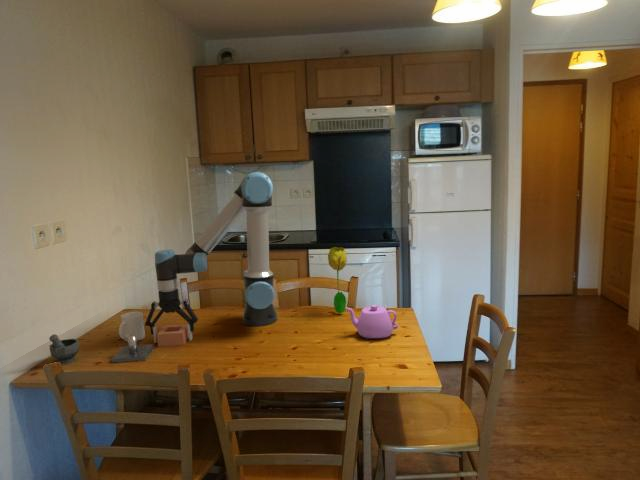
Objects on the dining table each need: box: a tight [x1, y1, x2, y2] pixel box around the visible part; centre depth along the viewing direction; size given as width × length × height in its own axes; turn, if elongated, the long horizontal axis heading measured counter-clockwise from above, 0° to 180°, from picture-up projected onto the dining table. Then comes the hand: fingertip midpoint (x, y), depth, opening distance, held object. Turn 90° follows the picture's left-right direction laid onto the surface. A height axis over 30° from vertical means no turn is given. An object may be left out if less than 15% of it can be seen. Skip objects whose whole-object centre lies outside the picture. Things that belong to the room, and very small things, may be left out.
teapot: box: [345, 304, 399, 340], centre depth 186 cm, size 20×13×12 cm, turn 84°
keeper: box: [110, 335, 156, 364], centre depth 180 cm, size 12×12×8 cm
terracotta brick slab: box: [157, 323, 189, 347], centre depth 192 cm, size 10×10×5 cm
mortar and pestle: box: [48, 333, 80, 366], centre depth 177 cm, size 11×9×12 cm
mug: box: [118, 311, 146, 343], centre depth 196 cm, size 12×8×10 cm
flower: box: [327, 246, 348, 315], centre depth 211 cm, size 9×8×30 cm
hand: (173, 340), depth 193 cm, fingers open, 13 cm apart
